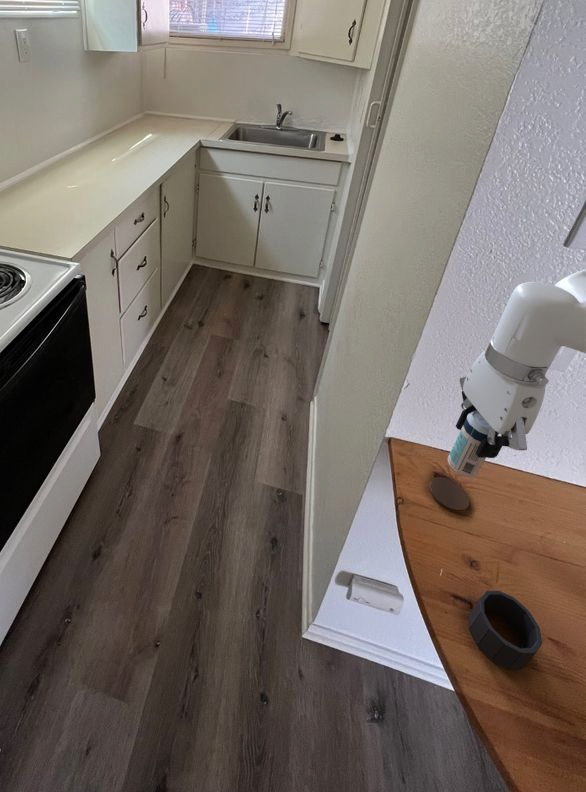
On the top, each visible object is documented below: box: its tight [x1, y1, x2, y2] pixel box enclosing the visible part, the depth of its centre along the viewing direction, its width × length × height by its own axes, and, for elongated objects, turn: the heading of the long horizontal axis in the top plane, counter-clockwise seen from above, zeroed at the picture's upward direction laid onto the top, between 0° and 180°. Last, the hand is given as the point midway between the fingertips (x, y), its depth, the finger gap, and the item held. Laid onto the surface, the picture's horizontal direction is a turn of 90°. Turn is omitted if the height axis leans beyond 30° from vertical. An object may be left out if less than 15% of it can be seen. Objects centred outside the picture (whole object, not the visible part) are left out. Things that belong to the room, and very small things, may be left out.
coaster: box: [428, 476, 470, 513], centre depth 80 cm, size 6×6×1 cm
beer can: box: [447, 410, 500, 478], centre depth 73 cm, size 5×5×12 cm
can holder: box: [467, 590, 543, 671], centre depth 60 cm, size 7×7×5 cm
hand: (475, 440), depth 73 cm, fingers closed on beer can, 4 cm apart
